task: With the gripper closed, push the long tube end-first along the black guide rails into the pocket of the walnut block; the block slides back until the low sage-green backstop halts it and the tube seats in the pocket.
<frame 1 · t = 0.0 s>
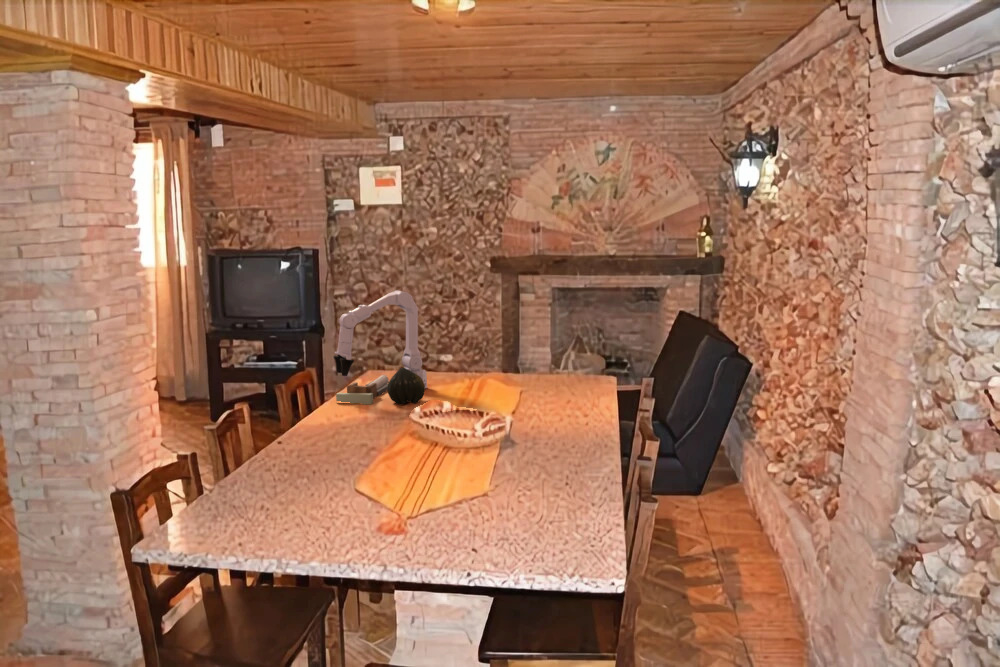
hand: (341, 374, 323), 11 cm above the table, tool pointing down, fingers open, 7 cm apart
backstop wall: (354, 403, 316), on the table
socket block: (362, 391, 323), point 3 cm above the table, slide at 0.0 cm
squash: (406, 402, 315), on the table
tube: (377, 390, 341), on the table
guide rails: (377, 389, 340), on the table
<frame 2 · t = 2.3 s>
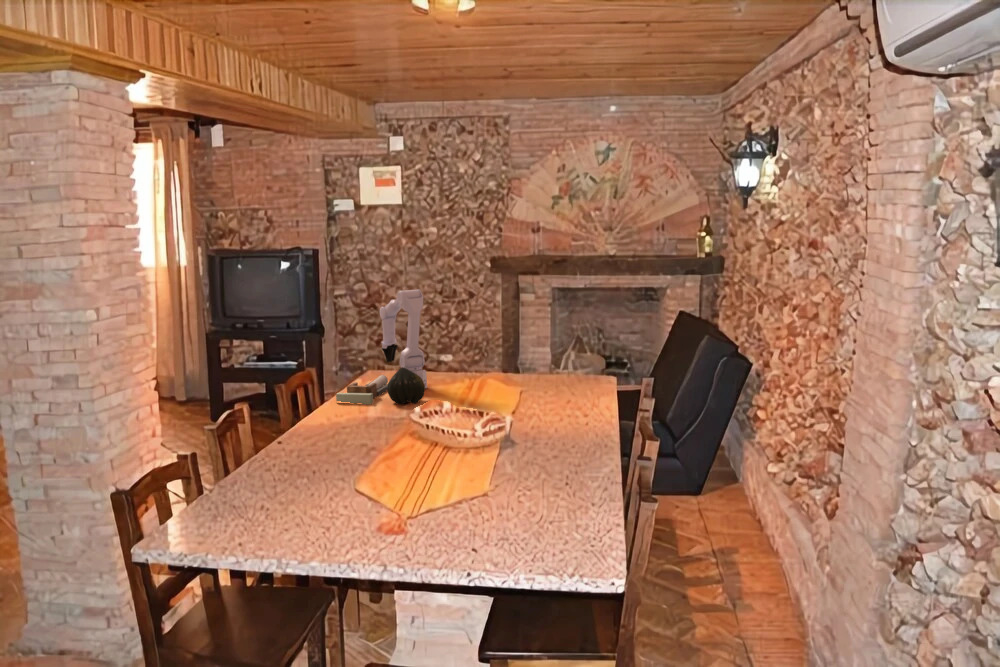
hand: (390, 361, 357), 9 cm above the table, tool pointing down, fingers open, 3 cm apart
nothing on the table moved.
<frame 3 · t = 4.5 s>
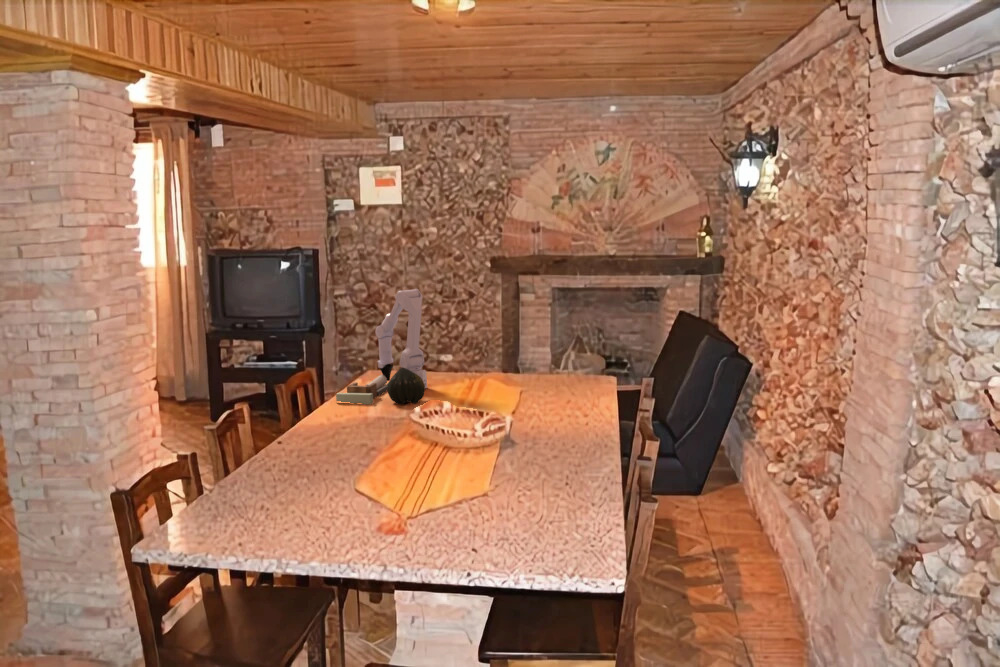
hand: (386, 380, 352), 1 cm above the table, tool pointing down, fingers closed
tube: (376, 390, 340), on the table, touching gripper
everything else where it was.
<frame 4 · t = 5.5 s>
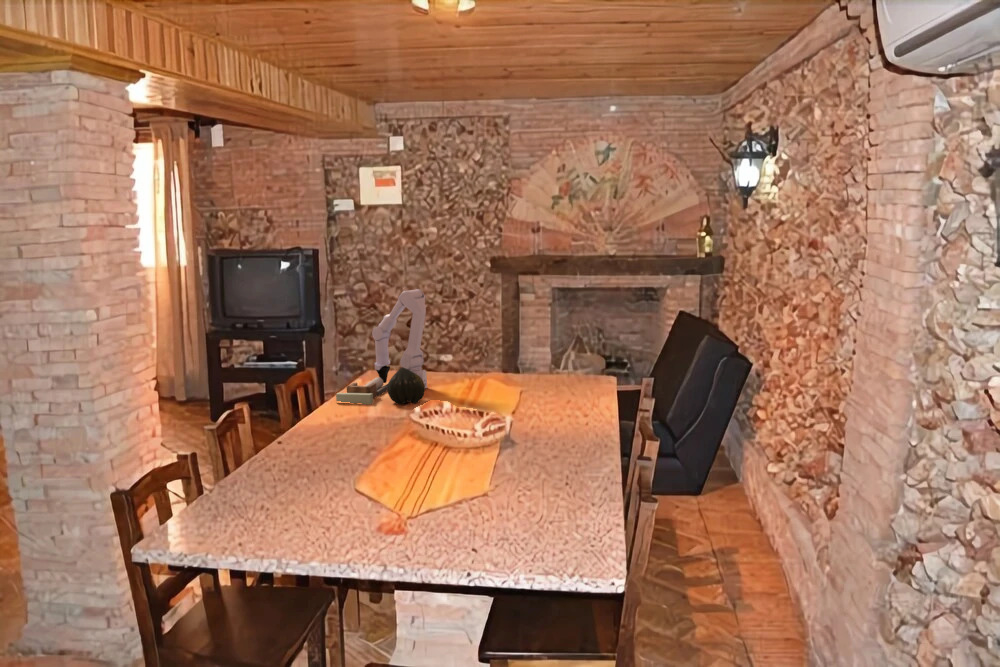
hand: (383, 382, 348), 1 cm above the table, tool pointing down, fingers closed
tube: (371, 393, 335), on the table, touching gripper
everything else where it was.
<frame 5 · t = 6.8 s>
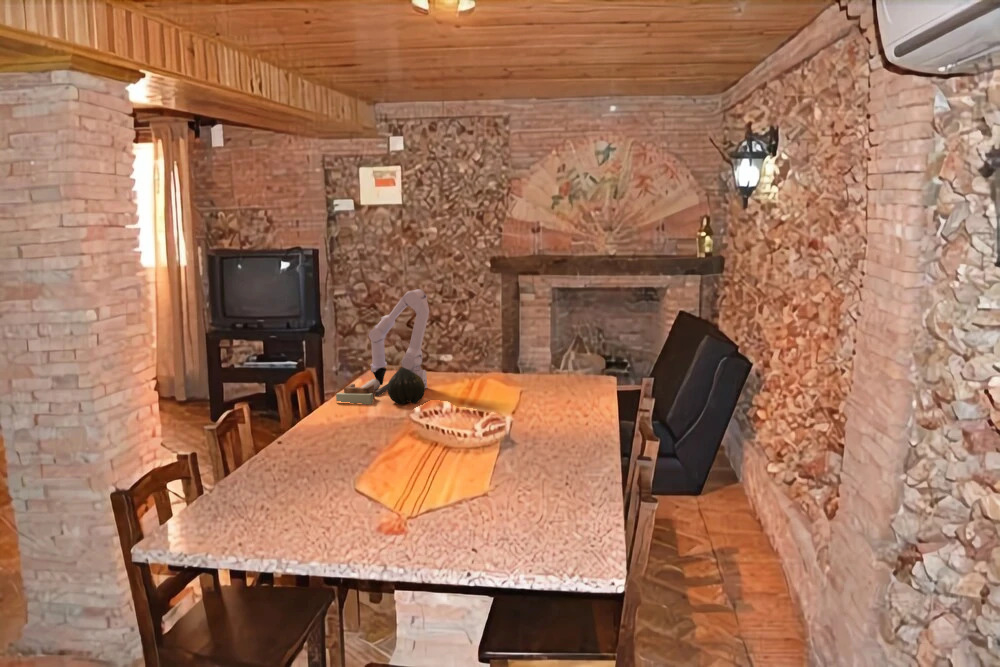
hand: (380, 384, 344), 1 cm above the table, tool pointing down, fingers closed
socket block: (359, 393, 320), point 3 cm above the table, slide at 3.0 cm, touching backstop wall, tube
tube: (367, 395, 331), on the table, touching gripper, socket block
everything else where it was.
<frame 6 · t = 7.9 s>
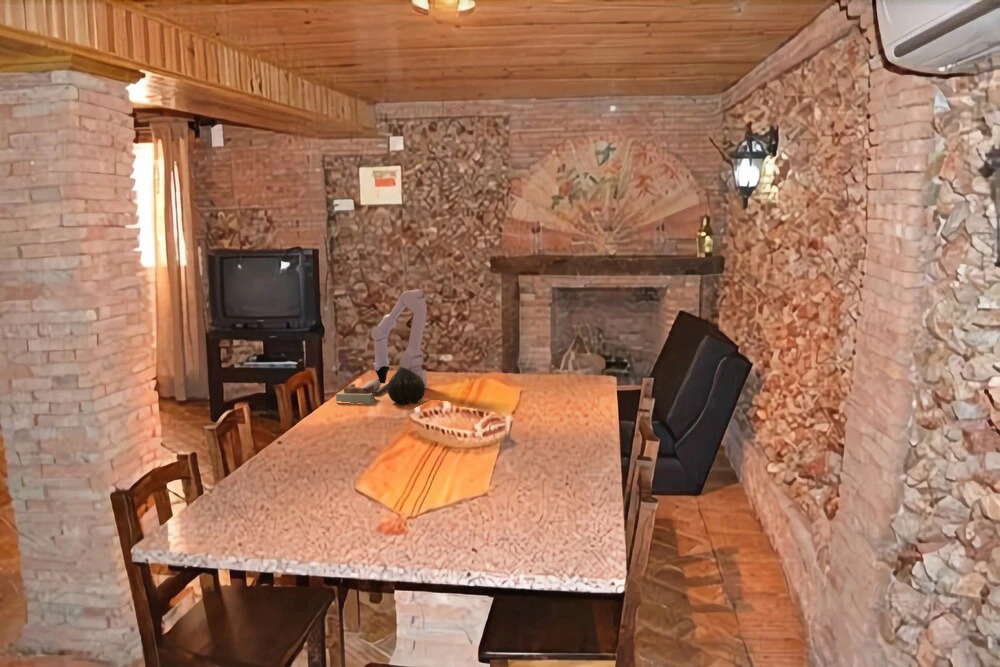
hand: (382, 383, 347), 1 cm above the table, tool pointing down, fingers closed
socket block: (359, 393, 320), point 3 cm above the table, slide at 3.0 cm
tube: (367, 395, 331), on the table
everything else where it was.
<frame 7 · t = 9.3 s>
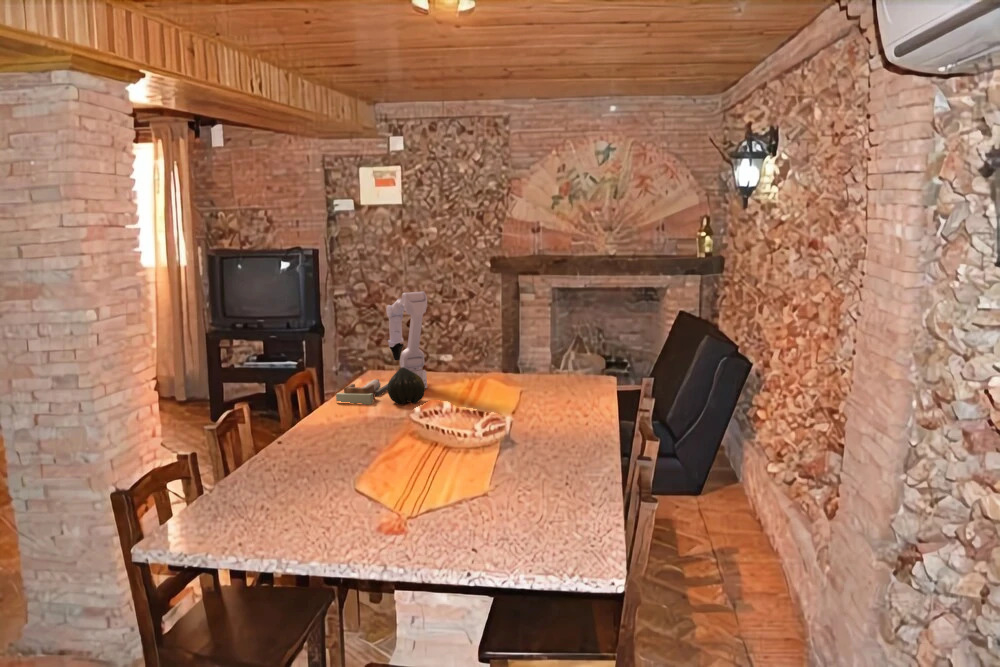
hand: (397, 360, 354), 10 cm above the table, tool pointing down, fingers closed
nothing on the table moved.
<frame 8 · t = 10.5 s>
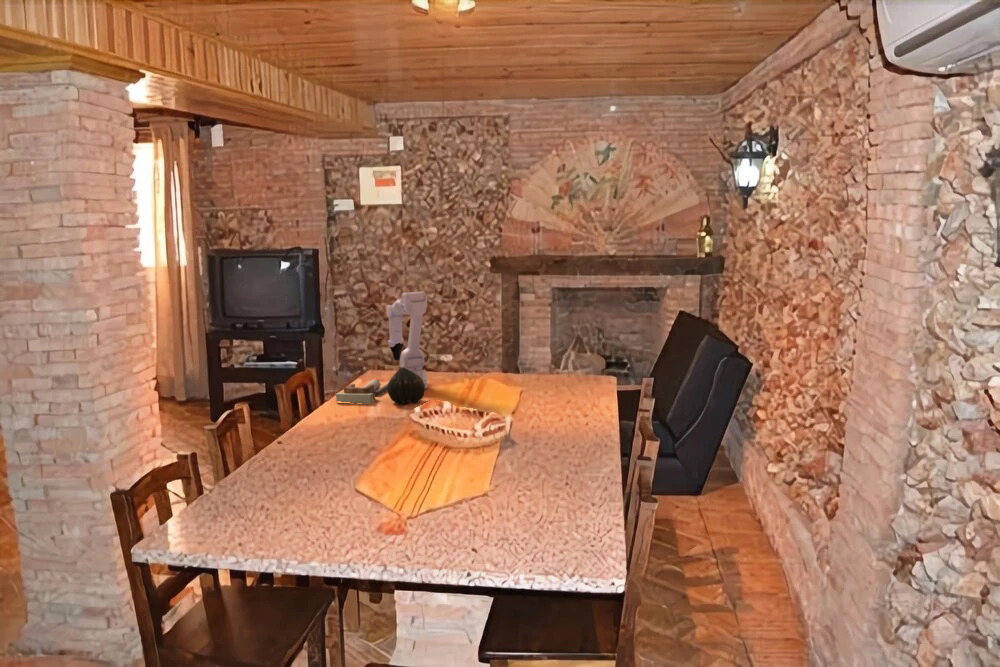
hand: (397, 360, 354), 10 cm above the table, tool pointing down, fingers closed
socket block: (359, 393, 320), point 3 cm above the table, slide at 3.0 cm, touching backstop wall
everything else where it was.
at the end: socket block slide at 3.0 cm; tube moved 9.8 cm from its start; tube 0.5 cm from the target spot on the table beside the socket block, on the table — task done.
